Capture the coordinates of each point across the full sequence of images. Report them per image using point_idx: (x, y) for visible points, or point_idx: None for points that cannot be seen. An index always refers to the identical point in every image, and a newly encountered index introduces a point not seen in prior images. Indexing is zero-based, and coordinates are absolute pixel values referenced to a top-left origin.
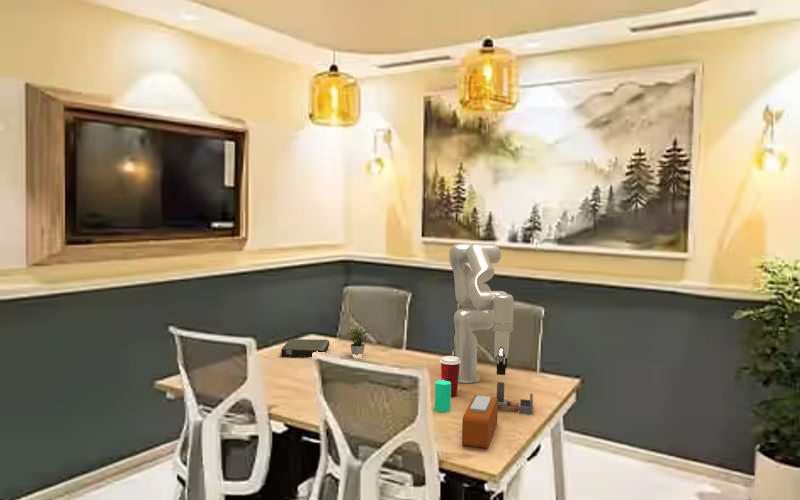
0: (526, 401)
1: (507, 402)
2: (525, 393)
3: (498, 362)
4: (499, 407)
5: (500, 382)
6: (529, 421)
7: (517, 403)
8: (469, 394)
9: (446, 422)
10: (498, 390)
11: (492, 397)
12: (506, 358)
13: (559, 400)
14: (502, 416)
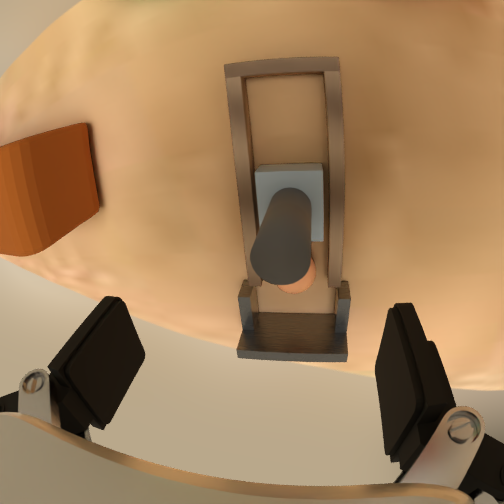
0: (335, 318)
1: (329, 235)
2: (489, 292)
3: (26, 391)
4: (241, 202)
5: (296, 257)
6: (178, 308)
7: (280, 288)
8: (443, 34)
9: (53, 44)
10: (261, 224)
11: (10, 237)
12: (392, 458)
13: None
14: (180, 217)
